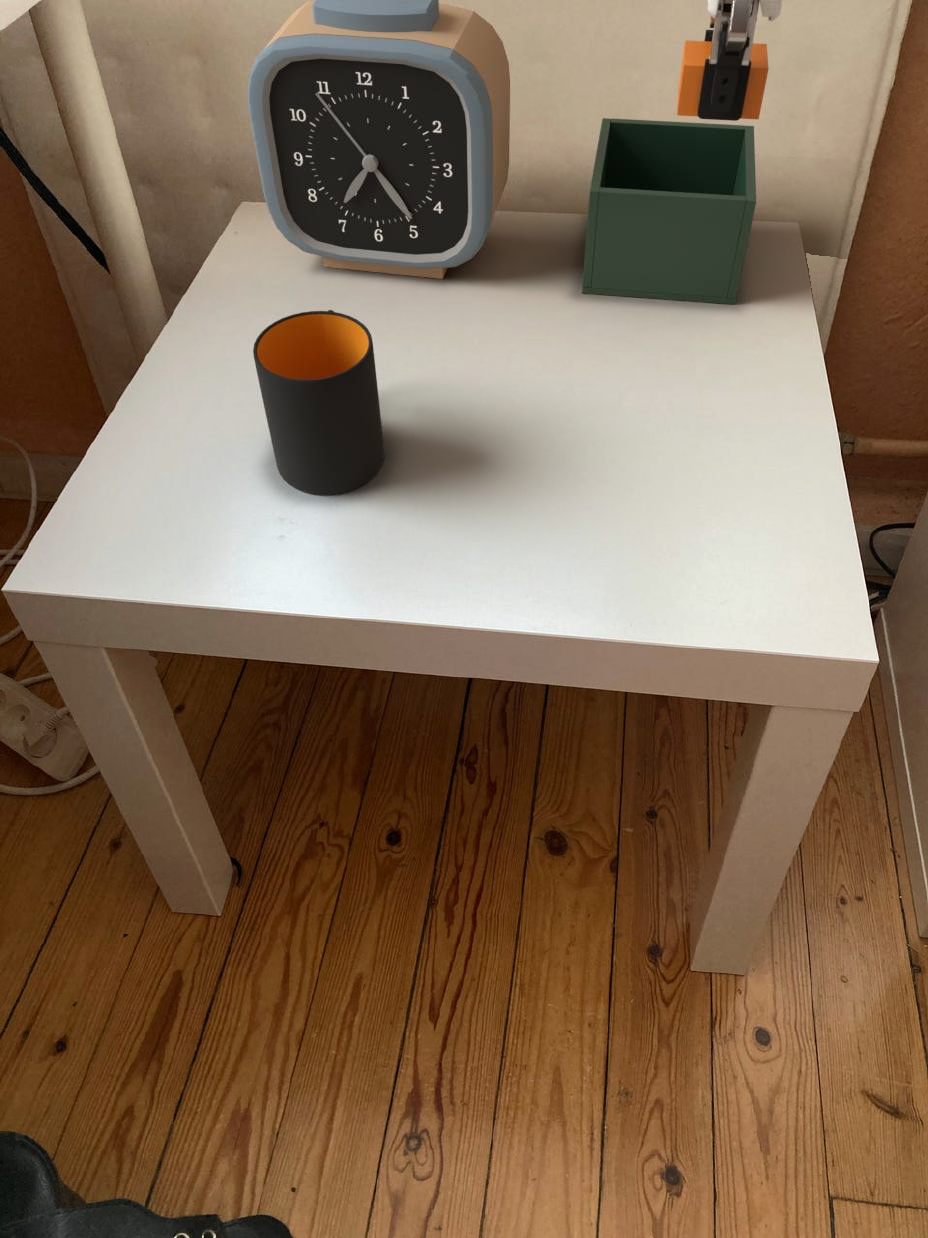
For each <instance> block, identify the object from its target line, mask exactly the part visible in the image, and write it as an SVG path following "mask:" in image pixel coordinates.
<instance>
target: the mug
mask: <svg viewBox="0 0 928 1238" xmlns="http://www.w3.org/2000/svg"><path fill="white" fill-rule="evenodd" d="M252 354H253V359H254V365H255V369H256V374H257V379H258V384H259V389H260V393H261V394H260V395H261V398H262V402H263V408H264V413H265V418H266V423H267V426H268V432H269V436H270V440H271V441H270V442H271V445H272V450H273V454H274V460H275V464H276V469H277V470H278V471H277V472H278V474H279V476H280V477H281V478H282V479H283V481H285V482H286V483H287V484H288V485H289V486H291V487H292V488H294V489H296V490H298V491H301V492H303V493H307V494H310V495H311V494H312V495H320V496H333V495H338V494H339V495H340V494H344V493H347V492H352V491H354V490H356V489H358V488H361V487H362V486H364V485H365V484H367V483H369V482H370V481H371V480H373V479H374V477H375V476H376V475H377V474H378V473H379V471H380V469H381V468H382V466H383V464H384V460H385V445H384V436H383V425H382V416H381V407H380V398H379V396H380V395H379V387H378V380H377V370H376V360H375V359H376V358H375V351H374V342H373V337H372V334H371V332H370V330H369V328H368V327H367V326H366V325H365V324H364V323H362V322H361V321H360V320H358V319H357V318H355V317H353V316H351V315H348V314H345V313H342V312H336V311H334V310H332V309H329V310H311V311H304V312H303V311H302V312H298V313H294V314H290V315H287V316H284V317H282V318H280V319H277V320H276V321H274V322H272V323H271V324H269V325H268V326H267V327H266V328H265V329H263V330H262V331H261V332H260V333H259V335H258V336H257V337H256V339H255V341H254V344H253V349H252Z"/></svg>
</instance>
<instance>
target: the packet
mask: <svg viewBox="0 0 928 1238" xmlns="http://www.w3.org/2000/svg"><path fill="white" fill-rule="evenodd" d="M711 45H712V42H709V41H705V40H685V41H684V45H683V53H682V60H681V68H680V74H679V81H678V90H677V105H676V106H677V107H676V116H681V117H682V116H683V117H698V105H699V99H700V92H701V86H702V79H703V73H704V66H705V59H710V52H711ZM750 61H751V68H750V74H749V79H748V85H747V90H746V95H745V101H744V106H743V112H742V116H741V118H740V119H739V120H741V119H743V120H759V119H760V114H761V109H762V103H763V99H764V93H765V89H766V84H767V79H768V74H769V57H768V44H767V43H756V42H755V43H754V42H753V44H752V50H751V56H750Z"/></svg>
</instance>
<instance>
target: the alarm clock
mask: <svg viewBox="0 0 928 1238" xmlns="http://www.w3.org/2000/svg"><path fill="white" fill-rule="evenodd" d="M439 1H440V0H308V1H307V2H305V3H304V4H303V5H301V6H300V7H299V8H298V9H296V10H295V11H294V12H292V14H291V15H290V16H289V17H288V18H287V20H286V21H285V22H284V23H283V25H282V26H281V27H280V28H279V29H278V31H277V32H275V34H274V35H273V37H272V38H271V39H270V41H269V42H268V43H267V44H266V45H265V47H263V49H261V51H260V53H258V55H257V57H256V58H255V61H254V63H253V65H252V67H251V69H250V71H249V77H248V86H247V91H246V92H247V93H246V95H247V103H248V105H247V106H248V114H249V119H250V125H251V131H252V137H253V142H254V149H255V153H256V160H257V164H258V169H259V176H260V180H261V187H262V192H263V197H264V200H265V204H266V207H267V211H268V213H269V215H270V217H271V219H272V221H273V223H274V225H275V227H276V229H277V230H278V231H279V232H280V234H282V236H283V237H284V238H285V239H286V241H288V242H289V243H291V244H292V245H293V246H295V247H296V248H298V249H300V251H302V252H304V253H307V254H311V255H315V256H318V257H322V263H323V267H324V268H333V269H341V270H350V271H351V270H352V271H360V272H361V271H362V272H370V273H371V272H372V273H382V274H392V275H400V276H401V275H403V276H410V277H411V276H412V277H422V278H430V279H431V278H432V279H441V280H443V279H444V277H445V274H446V273H447V270H448V269H449V268H457V267H458V266H460V265H462V264H465V263H466V262H468V261H470V260H472V259H473V258H474V257H475V255H476V254H477V253H478V252H479V251H480V250H481V249H482V247H483V246H484V243H485V240H486V238H487V235H488V233H489V231H490V230H489V229H490V228H491V226H492V222H493V220H494V217H495V214H496V211H497V209H498V206H499V204H500V201H501V198H502V196H503V193H504V191H505V187H506V185H507V182H508V178H509V168H510V139H511V138H510V136H511V135H510V132H511V131H510V130H511V129H510V127H511V124H510V123H511V76H510V75H511V74H510V62H509V59H508V55H507V52H506V49H505V46H504V42H503V39H501V38H500V35H499V34H498V33H497V31H496V29H495V28H494V27H493V24H491V23H489V22H488V21H487V20H486V19H485V18H483V17H482V16H481V15H480V14H478V13H477V12H476V11H474V10H472V9H471V10H470V9H467V8H462V7H458V6H454V5H450V4H445V3H442V2H439Z"/></svg>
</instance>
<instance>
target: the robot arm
mask: <svg viewBox="0 0 928 1238" xmlns="http://www.w3.org/2000/svg"><path fill="white" fill-rule="evenodd" d="M782 4H783V0H707V12H708V14H709V15H710V19H709V29H706V30H705V35H704V41H709V42H712V45H711V52H710V59H705V66H704V73H703V79H702V86H701V92H700V99H699V105H698V116H697V117H698V118H699V119H701V120H712V121H713V120H714V121H735V122H736V121H739V120H741V119H740V118H741V116H742V112H743V106H744V101H745V95H746V90H747V85H748V79H749V74H750V68H751V61H750V56H751V50H752V44H753V43H754V38H755V30H756V24H757V21H758V13H759V8H760V11H761V16H762V17H763V18H767V19H768V21H769V22H774V21H775V20H776V19H777V18H778V17H780V16H781V11H782V6H783V5H782Z"/></svg>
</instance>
